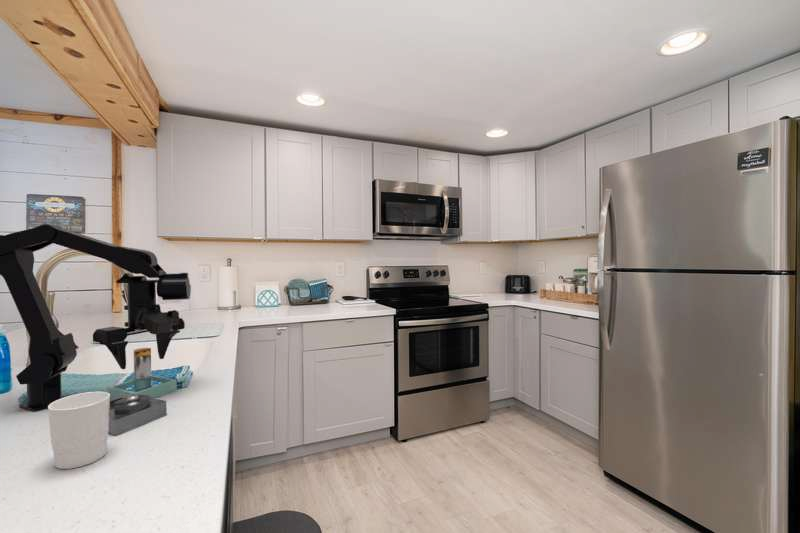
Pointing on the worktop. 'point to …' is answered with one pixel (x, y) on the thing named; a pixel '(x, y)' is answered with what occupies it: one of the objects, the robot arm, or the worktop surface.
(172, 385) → the tray
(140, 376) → the grey orange-capped bottle
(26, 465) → the worktop surface
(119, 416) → the tensioner block
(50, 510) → the worktop surface
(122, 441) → the worktop surface
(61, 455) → the white cup
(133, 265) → the robot arm
